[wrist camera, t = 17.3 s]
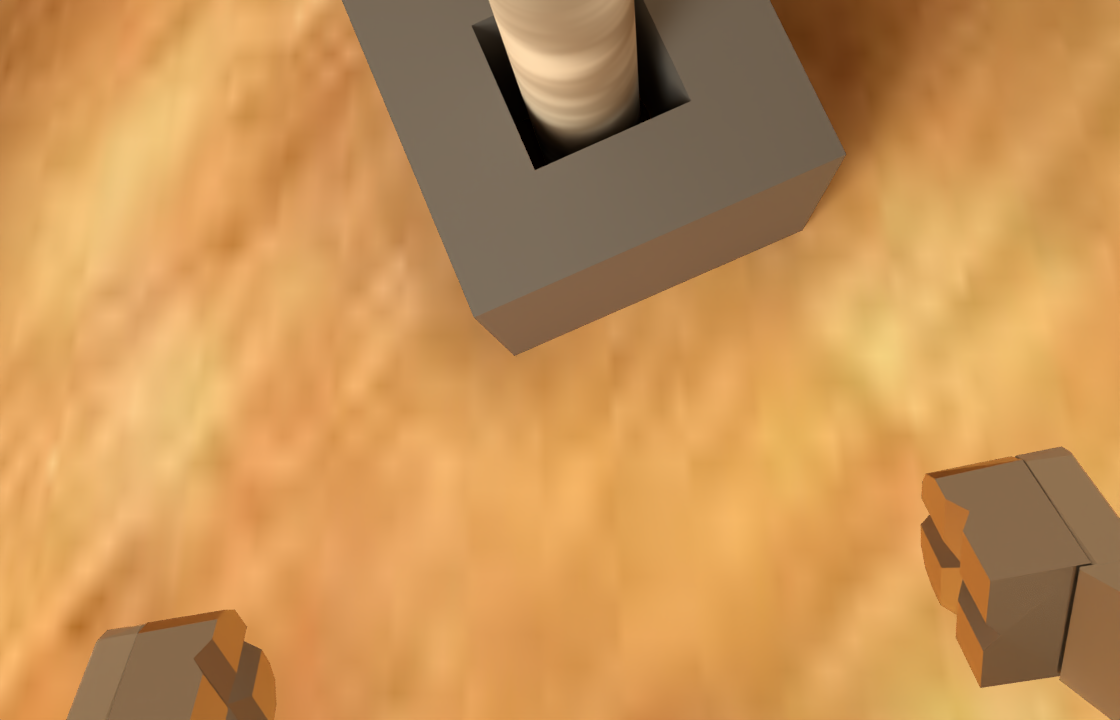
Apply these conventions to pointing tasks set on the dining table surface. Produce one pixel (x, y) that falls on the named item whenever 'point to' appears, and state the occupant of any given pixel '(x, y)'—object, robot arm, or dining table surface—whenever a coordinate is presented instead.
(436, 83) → the hole block
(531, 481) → the dining table surface
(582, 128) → the tall pin
